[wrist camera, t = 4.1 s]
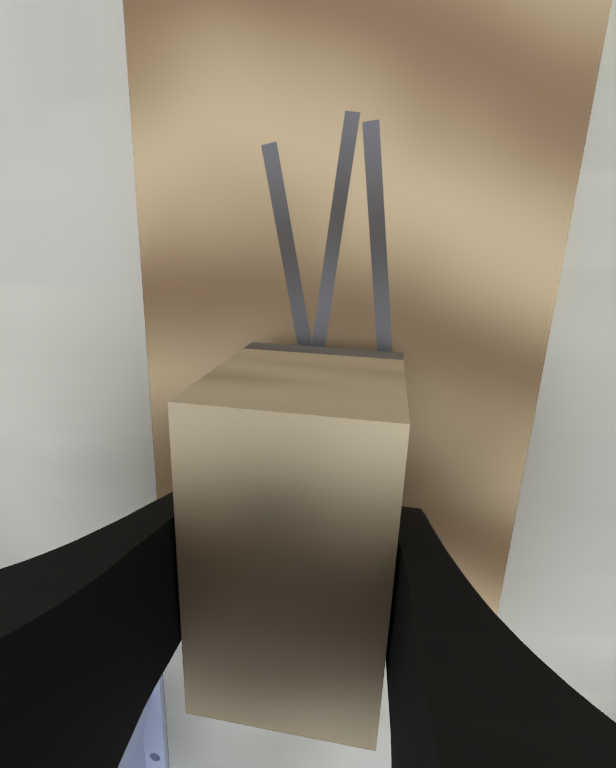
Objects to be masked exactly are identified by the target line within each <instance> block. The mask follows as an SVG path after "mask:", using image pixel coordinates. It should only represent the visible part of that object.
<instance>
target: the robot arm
mask: <svg viewBox="0 0 616 768" xmlns="http://www.w3.org/2000/svg"><path fill="white" fill-rule="evenodd" d="M181 640H182V637H181V620H180V603H179V586H178V569H177V552H176V535H175V518H174V501H173V492H171V493H169V494H167V495H165V496H163V497H161V498H160V499H158V500H156V501H154V502H152V503H150V504H148V505H146V506H145V507H143V508H141V509H139V510H137V511H135V512H133V513H131V514H130V515H128V516H126V517H124V518H122V519H120V520H118V521H116V522H114V523H111V524H109V525H107V526H105V527H103V528H101V529H99V530H97V531H95V532H93V533H91V534H89V535H87V536H85V537H82V538H80V539H78V540H76V541H73V542H71V543H69V544H67V545H64V546H62V547H59V548H57V549H55V550H52V551H49V552H47V553H44V554H42V555H39V556H36V557H34V558H31V559H29V560H26V561H23V562H20V563H18V564H14V565H11V566H8V567H5V568H2V569H0V768H169V756H168V742H167V729H166V715H165V702H164V688H163V675H162V674H163V672H164V670H165V668H166V667H167V665H168V663H169V661H170V659H171V658H172V656H173V654H174V652H175V650H176V649H177V647H178V645H179V643H180V642H181ZM386 670H387V684H388V699H389V714H390V729H391V756H392V768H616V723H615V722H614V721H613V720H612V719H610V718H609V717H608V716H606V715H605V714H604V713H603V712H601V711H600V710H599V709H597V708H596V707H595V706H594V705H592V704H591V703H590V702H589V701H588V700H586V699H585V698H584V697H583V696H582V695H580V694H579V693H578V692H577V691H576V690H574V689H573V688H572V687H571V686H570V685H568V684H567V683H566V682H565V681H564V680H563V679H562V678H561V677H559V676H558V675H557V674H556V673H555V672H554V671H553V670H552V669H551V668H549V667H548V666H547V665H546V664H545V663H544V662H543V661H542V660H541V659H539V658H538V657H537V656H536V655H535V654H534V653H533V652H532V651H531V650H530V649H529V648H528V647H527V646H526V645H525V644H524V643H523V642H522V641H521V640H520V639H519V638H518V637H517V636H516V635H515V634H514V633H513V632H512V631H511V630H510V629H509V628H508V627H507V626H506V625H505V624H504V623H503V621H502V620H501V619H500V618H499V617H498V616H497V615H496V614H495V613H494V612H493V610H492V609H491V608H490V607H489V606H488V605H487V603H486V602H485V601H484V600H483V598H482V597H481V596H480V595H479V593H478V592H477V591H476V590H475V588H474V587H473V586H472V585H471V583H470V582H469V581H468V579H467V578H466V577H465V575H464V574H463V573H462V571H461V570H460V568H459V567H458V565H457V564H456V563H455V561H454V560H453V558H452V557H451V555H450V554H449V553H448V551H447V550H446V548H445V546H444V545H443V543H442V542H441V540H440V538H439V537H438V535H437V534H436V532H435V530H434V529H433V527H432V525H431V523H430V522H429V520H428V518H427V516H426V514H425V513H424V512H423V510H422V509H421V508H413V507H405V506H402V507H401V516H400V526H399V535H398V545H397V555H396V564H395V574H394V583H393V593H392V602H391V612H390V621H389V631H388V640H387V650H386Z"/></svg>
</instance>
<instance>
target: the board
mask: <svg viewBox="0 0 616 768" xmlns="http://www.w3.org/2000/svg"><path fill="white" fill-rule="evenodd" d="M611 2H612V0H123V9H124V24H125V38H126V53H127V67H128V82H129V96H130V111H131V126H132V140H133V155H134V169H135V184H136V198H137V213H138V227H139V242H140V256H141V271H142V285H143V300H144V315H145V329H146V344H147V358H148V373H149V387H150V402H151V416H152V431H153V445H154V460H155V474H156V489H157V500H158V499H160V498H161V497H163V496H165V495H167V494H169V493H171V492H173V484H172V467H171V450H170V433H169V416H168V401H170V400H171V399H172V398H174V397H175V396H177V395H178V394H179V393H181V392H182V391H184V390H185V389H186V388H188V387H189V386H191V385H192V384H193V383H195V382H196V381H198V380H199V379H201V378H202V377H203V376H205V375H206V374H208V373H209V372H210V371H212V370H213V369H215V368H216V367H217V366H219V365H220V364H222V363H223V362H225V361H226V360H227V359H229V358H230V357H232V356H233V355H234V354H236V353H237V352H239V351H240V350H241V349H243V348H244V347H246V346H247V345H248V344H250V343H251V342H258V343H272V344H287V345H301V346H315V347H330V348H344V349H358V350H373V351H387V352H401V353H403V357H404V367H405V377H406V387H407V398H408V408H409V418H410V431H409V440H408V450H407V459H406V469H405V478H404V488H403V497H402V506H405V507H413V508H421V509H422V510H423V512H424V513H425V514H426V516H427V518H428V520H429V522H430V523H431V525H432V527H433V529H434V530H435V532H436V534H437V535H438V537H439V538H440V540H441V542H442V543H443V545H444V546H445V548H446V550H447V551H448V553H449V554H450V555H451V557H452V558H453V560H454V561H455V563H456V564H457V565H458V567H459V568H460V570H461V571H462V573H463V574H464V575H465V577H466V578H467V579H468V581H469V582H470V583H471V585H472V586H473V587H474V588H475V590H476V591H477V592H478V593H479V595H480V596H481V597H482V598H483V600H484V601H485V602H486V603H487V605H488V606H489V607H490V608H491V609H492V610H493V612H494V613H495V614H496V615H497V612H498V606H499V601H500V596H501V590H502V585H503V580H504V574H505V569H506V564H507V558H508V553H509V548H510V542H511V537H512V532H513V526H514V521H515V516H516V510H517V505H518V499H519V494H520V489H521V483H522V478H523V473H524V467H525V462H526V457H527V451H528V446H529V441H530V435H531V430H532V425H533V419H534V414H535V409H536V403H537V398H538V392H539V387H540V382H541V376H542V371H543V366H544V360H545V355H546V350H547V344H548V339H549V334H550V328H551V323H552V318H553V312H554V307H555V302H556V296H557V291H558V285H559V280H560V275H561V269H562V264H563V259H564V253H565V248H566V243H567V237H568V232H569V227H570V221H571V216H572V211H573V205H574V200H575V194H576V189H577V184H578V178H579V173H580V168H581V162H582V157H583V152H584V146H585V141H586V136H587V130H588V125H589V120H590V114H591V109H592V104H593V98H594V93H595V87H596V82H597V77H598V71H599V66H600V61H601V55H602V50H603V45H604V39H605V34H606V29H607V23H608V18H609V13H610V7H611Z"/></svg>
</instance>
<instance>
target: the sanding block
mask: <svg viewBox="0 0 616 768" xmlns="http://www.w3.org/2000/svg"><path fill="white" fill-rule="evenodd" d="M168 416H169V433H170V450H171V467H172V484H173V501H174V518H175V535H176V552H177V569H178V586H179V603H180V620H181V637H182V654H183V671H184V688H185V705H186V713H187V714H192V715H197V716H203V717H208V718H213V719H218V720H223V721H228V722H233V723H238V724H243V725H248V726H253V727H258V728H263V729H268V730H273V731H278V732H283V733H288V734H293V735H298V736H303V737H308V738H313V739H318V740H323V741H328V742H333V743H338V744H343V745H348V746H353V747H358V748H363V749H368V750H373V751H376V745H377V736H378V726H379V717H380V707H381V698H382V688H383V678H384V669H385V659H386V650H387V640H388V631H389V621H390V612H391V602H392V593H393V583H394V574H395V564H396V555H397V545H398V535H399V526H400V516H401V507H402V497H403V488H404V478H405V469H406V459H407V450H408V440H409V431H410V418H409V408H408V398H407V387H406V377H405V367H404V357H403V353H401V352H387V351H373V350H358V349H344V348H330V347H315V346H301V345H287V344H272V343H258V342H251V343H250V344H248V345H247V346H246V347H244V348H243V349H241V350H240V351H239V352H237V353H236V354H234V355H233V356H232V357H230V358H229V359H227V360H226V361H225V362H223V363H222V364H220V365H219V366H217V367H216V368H215V369H213V370H212V371H210V372H209V373H208V374H206V375H205V376H203V377H202V378H201V379H199V380H198V381H196V382H195V383H193V384H192V385H191V386H189V387H188V388H186V389H185V390H184V391H182V392H181V393H179V394H178V395H177V396H175V397H174V398H172V399H171V400H170V401H168Z"/></svg>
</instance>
